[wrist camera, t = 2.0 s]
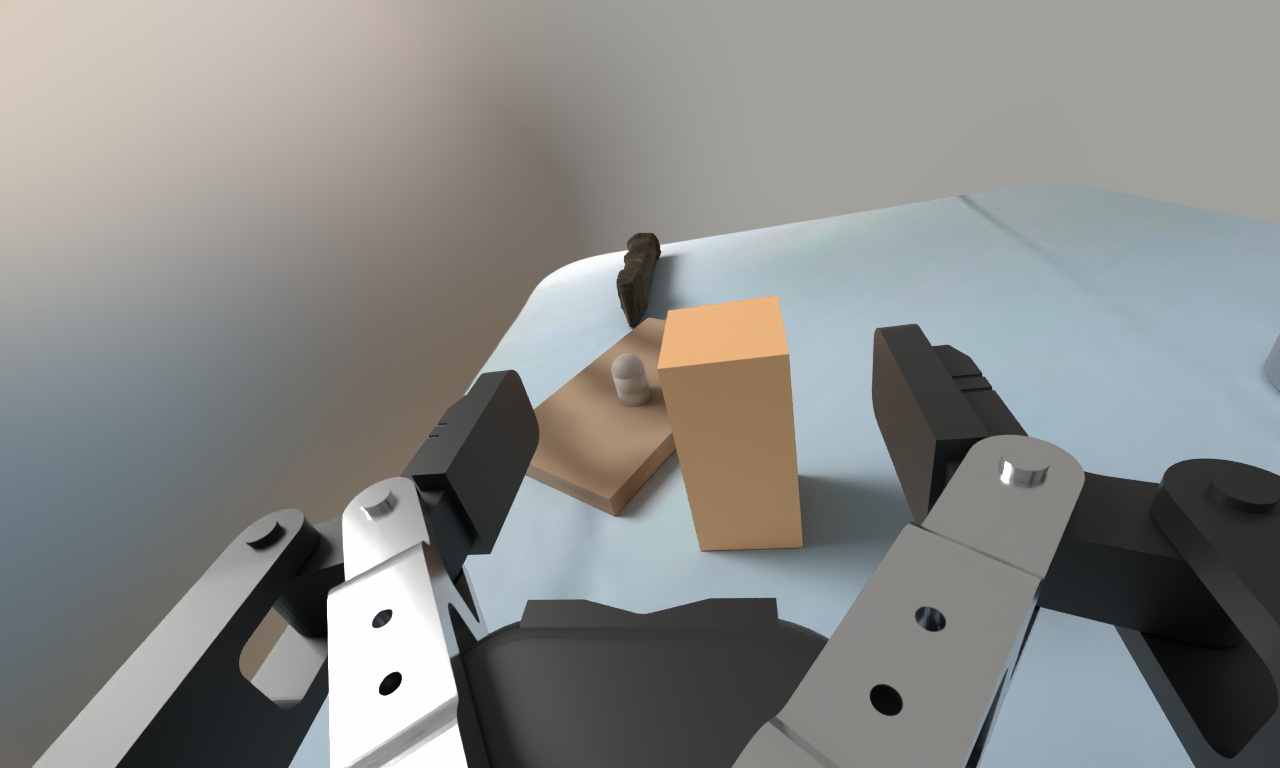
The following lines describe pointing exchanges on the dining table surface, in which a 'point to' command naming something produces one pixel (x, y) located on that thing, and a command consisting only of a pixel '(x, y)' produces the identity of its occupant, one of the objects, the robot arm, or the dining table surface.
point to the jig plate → (607, 424)
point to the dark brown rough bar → (637, 275)
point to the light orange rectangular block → (733, 422)
